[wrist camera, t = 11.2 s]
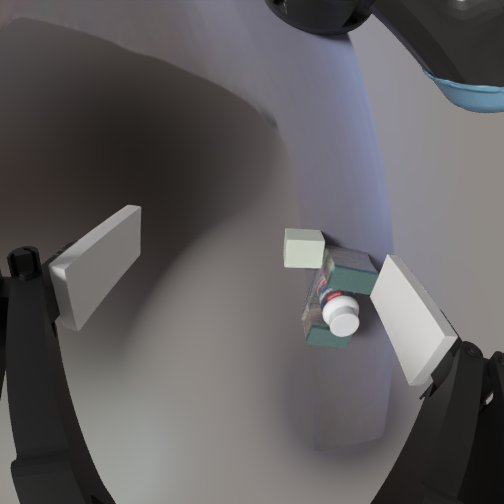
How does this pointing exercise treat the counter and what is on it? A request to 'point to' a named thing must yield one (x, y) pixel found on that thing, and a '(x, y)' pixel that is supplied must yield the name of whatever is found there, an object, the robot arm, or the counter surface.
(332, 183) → the counter surface
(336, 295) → the pill bottle
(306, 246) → the block
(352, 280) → the teal white block
